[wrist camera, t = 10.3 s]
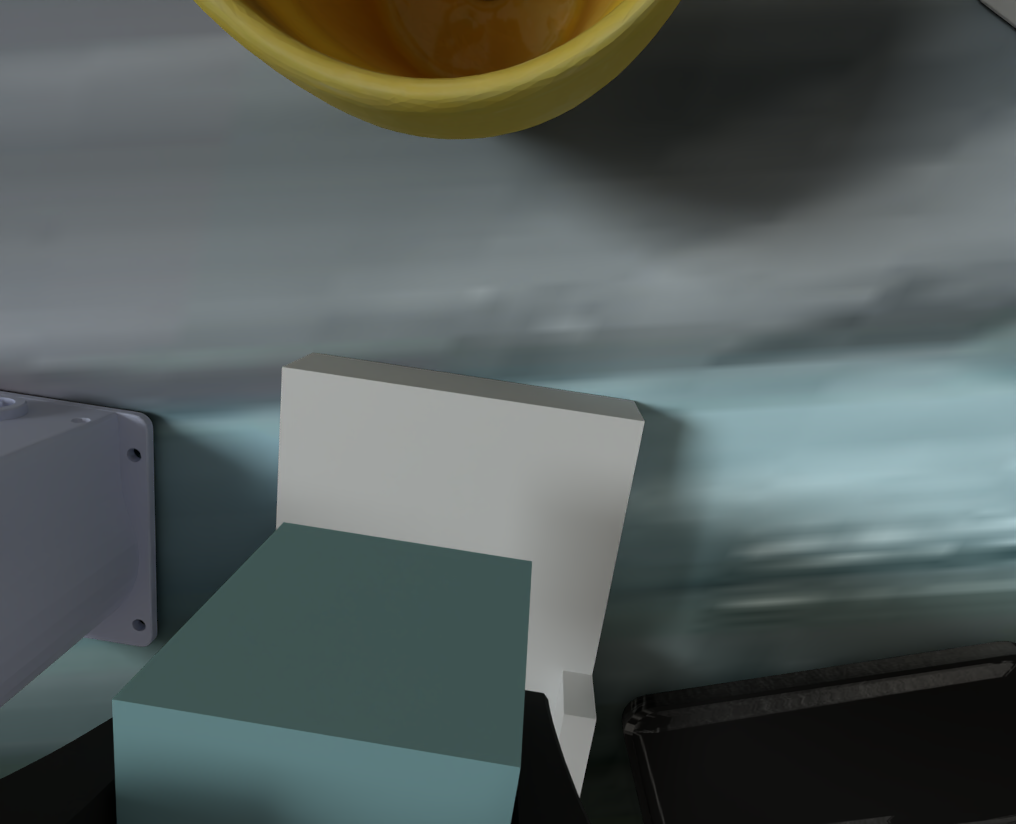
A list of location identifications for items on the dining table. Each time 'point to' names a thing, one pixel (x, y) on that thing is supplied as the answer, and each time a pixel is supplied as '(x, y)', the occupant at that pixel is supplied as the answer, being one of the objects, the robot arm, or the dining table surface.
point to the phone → (835, 744)
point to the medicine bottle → (1003, 9)
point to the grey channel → (474, 493)
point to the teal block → (334, 691)
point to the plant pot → (446, 56)
